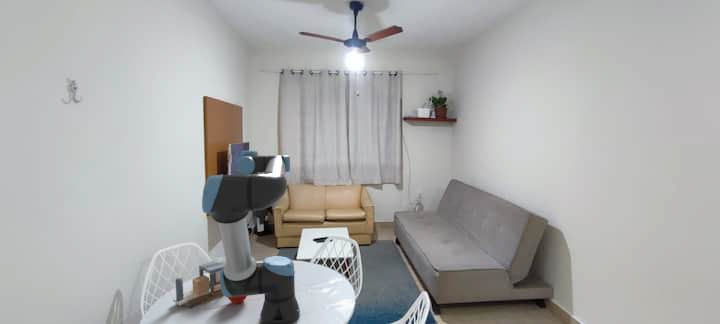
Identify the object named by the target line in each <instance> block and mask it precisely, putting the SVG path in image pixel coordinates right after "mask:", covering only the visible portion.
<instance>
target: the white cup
mask: <svg viewBox="0 0 720 324" xmlns="http://www.w3.org/2000/svg"><path fill="white" fill-rule="evenodd" d="M212 261H215V262H218V263H220V264H222V265H224V266H225V264H226V263H227V262H226V258H225V256H217V257H214V258H211V259H210V260H209V262H212ZM220 273H221V271H218V272H216V282H218V281H220Z"/></svg>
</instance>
